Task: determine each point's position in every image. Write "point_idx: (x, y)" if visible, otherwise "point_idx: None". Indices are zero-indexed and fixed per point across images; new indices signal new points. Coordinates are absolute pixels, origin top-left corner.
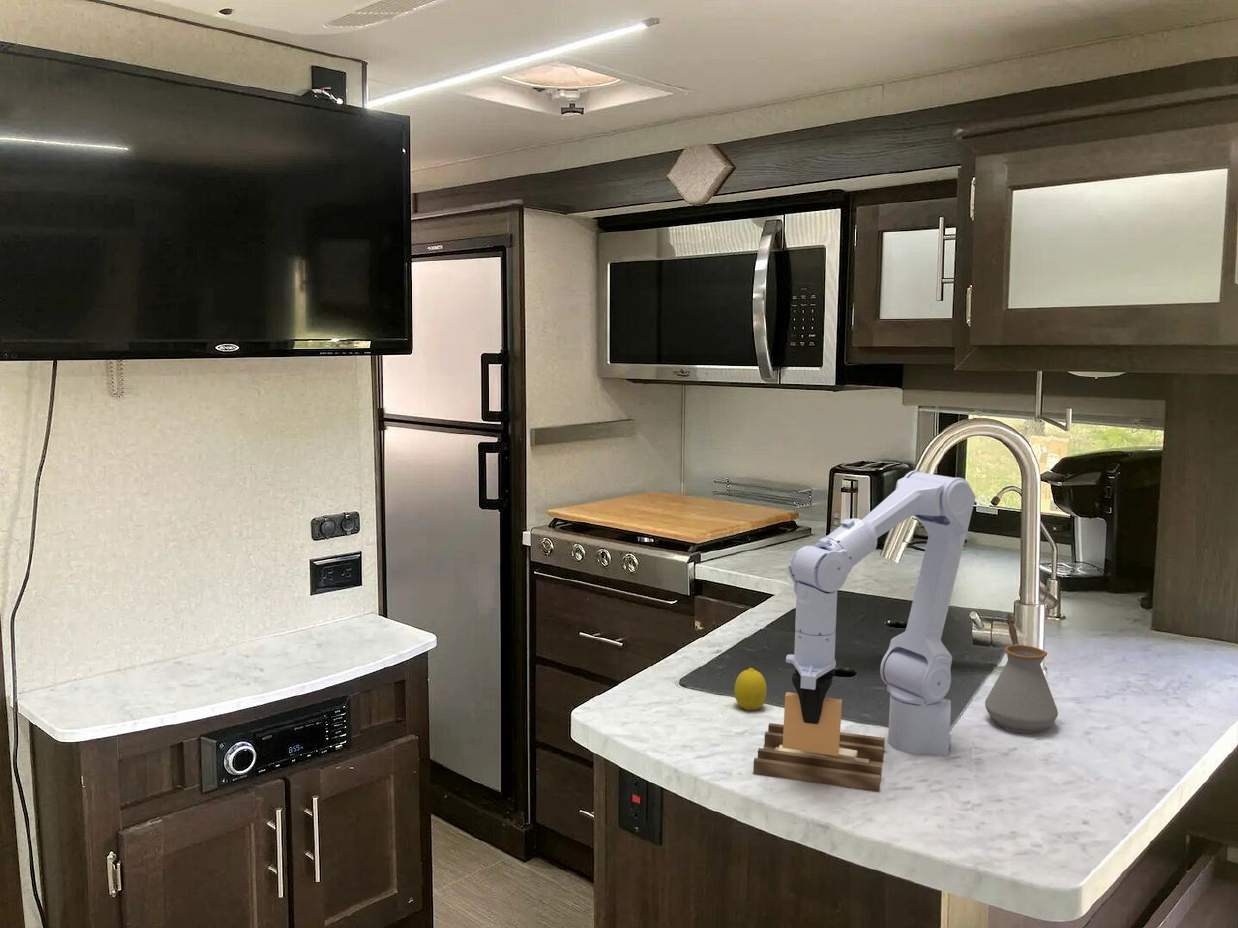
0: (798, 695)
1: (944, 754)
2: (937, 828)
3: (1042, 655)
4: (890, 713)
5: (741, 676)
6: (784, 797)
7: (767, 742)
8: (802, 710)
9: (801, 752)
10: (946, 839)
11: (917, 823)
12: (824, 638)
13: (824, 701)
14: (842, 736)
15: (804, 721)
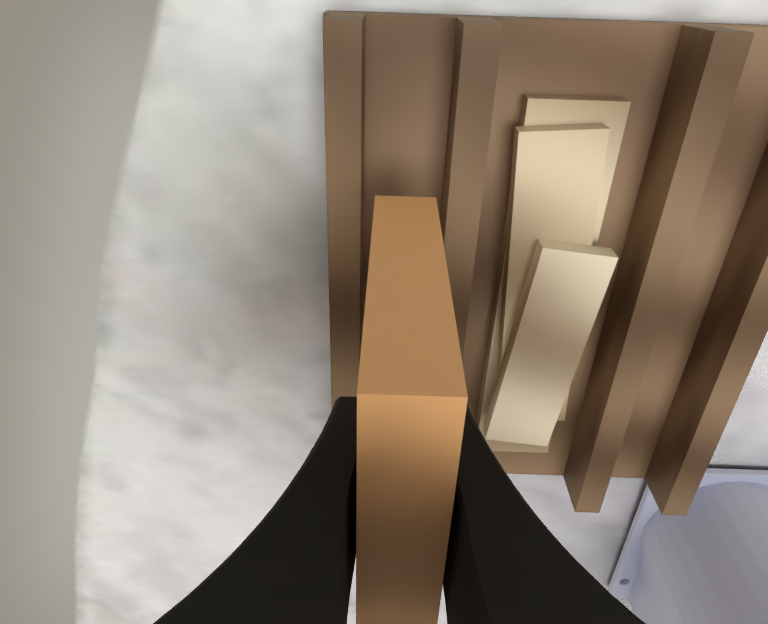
0: (247, 537)
1: (634, 604)
2: (223, 555)
3: None
4: None
5: None
6: (220, 175)
7: (686, 45)
8: (313, 449)
9: (529, 240)
10: (177, 567)
11: (228, 523)
12: None
13: (357, 613)
14: (706, 390)
15: (336, 403)
